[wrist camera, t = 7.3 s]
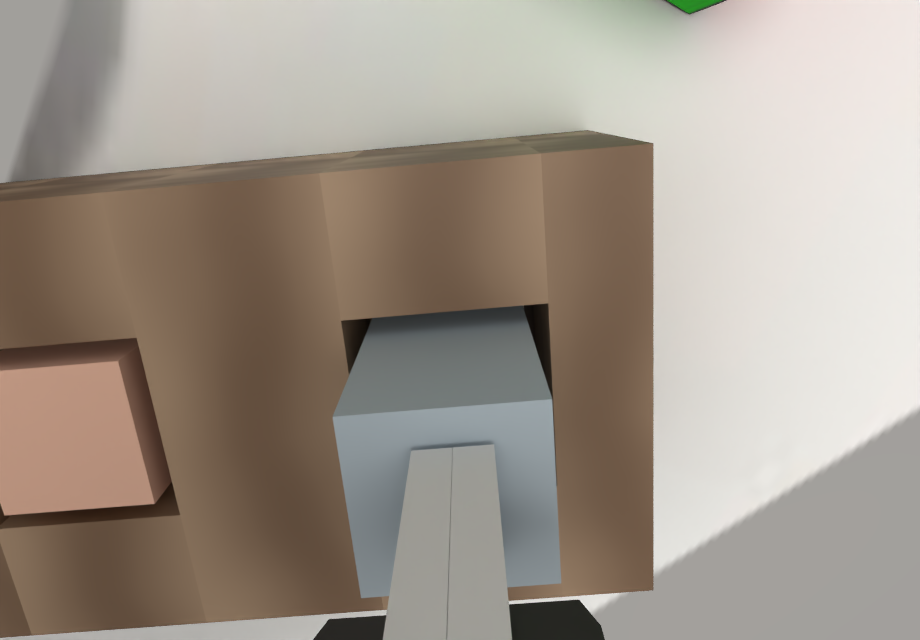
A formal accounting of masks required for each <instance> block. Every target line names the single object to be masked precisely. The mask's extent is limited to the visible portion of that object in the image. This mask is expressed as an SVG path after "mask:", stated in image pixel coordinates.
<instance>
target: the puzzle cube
mask: <svg viewBox="0 0 920 640" xmlns="http://www.w3.org/2000/svg"><path fill="white" fill-rule="evenodd" d="M667 1H668V2H670V3H672V4H673V5H675V6H677V7H678V8H680V9H682V10H683V11H685V12H687V13H688V14H691V13H694V12H697V11H700V10H703V9H706V8H708V7H711V6H714V5H716V4H719V3H721V2H724V1H726V0H667Z"/></svg>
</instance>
